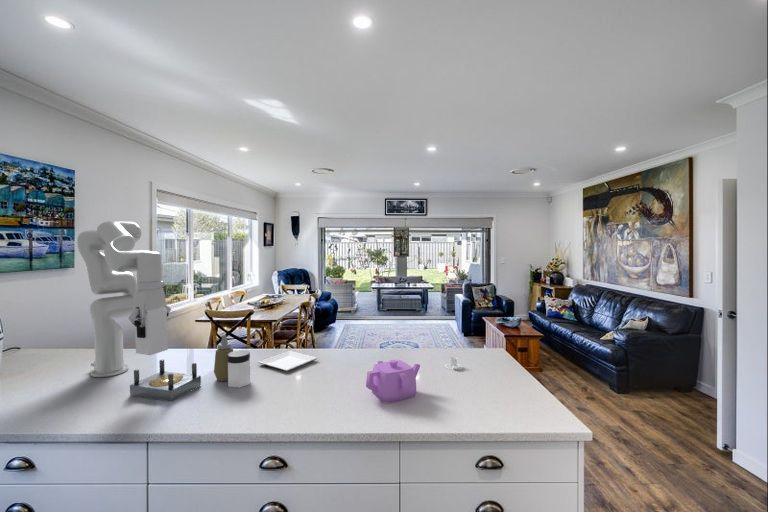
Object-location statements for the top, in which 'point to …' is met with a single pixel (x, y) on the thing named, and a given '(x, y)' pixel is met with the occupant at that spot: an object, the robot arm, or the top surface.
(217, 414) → the top surface
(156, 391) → the grey pegged base
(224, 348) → the squeeze bottle
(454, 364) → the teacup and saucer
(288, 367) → the plate
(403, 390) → the teakettle
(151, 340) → the milk carton
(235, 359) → the jar
